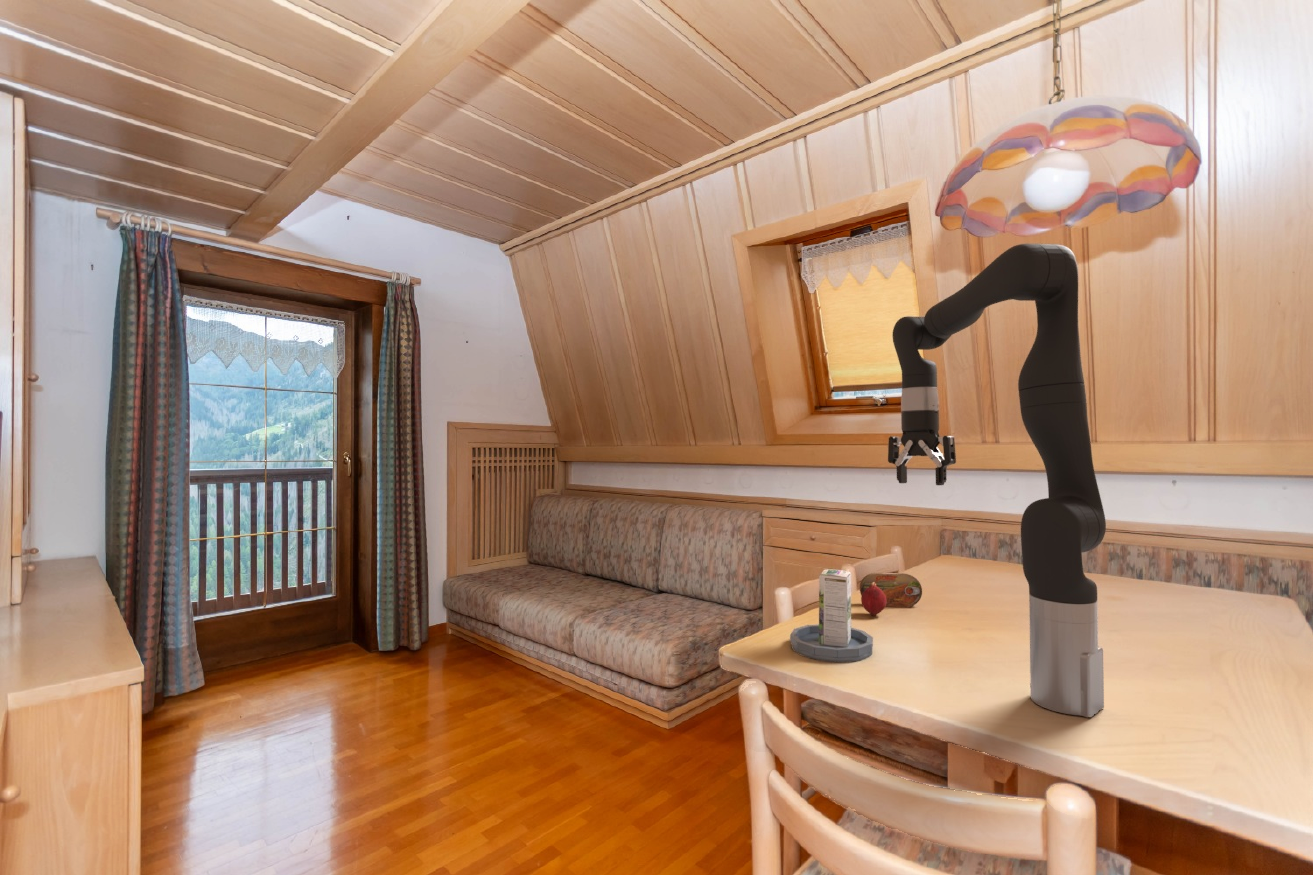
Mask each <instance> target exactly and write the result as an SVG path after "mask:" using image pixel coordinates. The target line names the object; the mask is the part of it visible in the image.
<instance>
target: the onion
mask: <svg viewBox="0 0 1313 875" xmlns="http://www.w3.org/2000/svg"><path fill="white" fill-rule="evenodd" d="M860 596H861V595H860ZM860 601H861V605H862V607H863V609H864V610H865V611H866V612H868V613H869V614H870V615H871V616H875V617H876V616H877V615H878V614H880V613H881V612H883V610H884V609H885V608H886V607H885V606H886V603H887V599H886V596H885V594H884V593H883V591H882V590H881V589H880V588H878V587H877V586H876V583H874V582H873V583H871V586H870V587H868V588H867V589H866V590H865V591H864V592H863V594H862V596H861V598H860Z"/></svg>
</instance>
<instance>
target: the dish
mask: <svg viewBox="0 0 1313 875" xmlns="http://www.w3.org/2000/svg"><path fill="white" fill-rule="evenodd" d="M789 638H790V639H789V640H790V642H789V643H790V644H791V648H792V650H793V651H794V652H795V653H796V654H798V653H799V654H798V655H800V656H802V657H806V658H808V659H811V660H816V661H822V662H827V663H828V662H829V663H851V662H852V663H853V662H859V661H863V660H866V659H868V658H870V657H871V656H872V655H873V647H874V637H873V636H872V635H871V634H869V633H867V632H866V631H864V630H861V629H858V628H855V627H851V640H850V642H849V644H848V647H838V646H829V645H821V644H819V623H817V624H806V625H803V626H800V627H796V628H793V630H792V631H791V633H790V635H789Z"/></svg>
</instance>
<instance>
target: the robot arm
mask: <svg viewBox="0 0 1313 875" xmlns="http://www.w3.org/2000/svg"><path fill="white" fill-rule="evenodd" d="M1010 300H1015V301H1021V302H1022V301H1023V302H1024V301H1025V302H1027V301H1029V302H1030V301H1031V302H1032V301H1034V303H1035V307H1036V308H1035V309H1036V318H1037V319H1036V320H1037V321H1036V322H1037V325H1036V326H1037V327H1036V328H1037V329H1036V330H1037V331H1036V334H1035V335H1036V336H1035V339H1034V342H1033V344H1032V346H1031V348H1030V351H1029V353H1028V354H1027V357H1026V359H1025V361H1024V362H1023V365H1022V367H1021V369H1020V373H1019V375H1018V376H1019V377H1018V380H1017V381H1018V383H1017V388H1018V396H1019V397H1018V398H1019V406H1020V409H1019V410H1020V415H1021V419H1022V422H1023V425H1024V427H1025V430H1026V433H1027V434H1028V436H1029V438H1030V439H1031V441H1032V444H1033V445H1034V446H1035V448H1036V450H1037V452H1038V454H1039V457H1041V459H1042V462H1043V466H1044V469H1045V472H1046V480H1047V488H1048V489H1047V490H1048V491H1047V492H1048V493H1047V494H1048V497H1046V498H1042V499H1038V500H1035V501H1033V502H1031V503H1029V505H1028V506H1027V507H1026V508H1025V510H1024V512H1023V514H1022V517H1021V523H1020V542H1021V543H1020V544H1021V560H1022V570H1023V574H1024V577H1025V579H1026V582H1027V584H1028V599H1029V600H1028V602H1029V604H1028V605H1029V606H1028V607H1029V610H1028V611H1029V613H1028V614H1029V616H1028V617H1029V673H1030V680H1029V681H1030V682H1029V685H1030V688H1029V689H1030V698H1031V701H1032V702H1034V703H1035V704H1037V705H1039V706H1040V707H1042V708H1045V709H1047V710H1050V711H1052V712H1057V713H1059V714H1060V713H1061V714H1066V715H1070V716H1081V717H1085V718H1088V717H1091V718H1092V717H1093V716H1095V715H1096V714H1097V713H1099V712H1100V711H1102V709H1104V708H1105V692H1104V691H1105V688H1104V686H1105V685H1104V684H1105V683H1104V682H1105V681H1104V678H1105V677H1104V676H1105V675H1104V648H1103V647H1102V646H1099V636H1098V635H1099V630H1098V629H1099V626H1098V625H1099V624H1098V623H1099V621H1098V619H1099V616H1098V615H1099V614H1098V610H1099V609H1098V587H1097V584H1096V582H1095V581H1094V580H1092V579H1091V578H1089V577H1087V576H1086V574H1085V573H1084V568H1083V567H1084V566H1083V565H1084V564H1083V554H1082V553H1085V552H1086V553H1087V552H1090V551H1092V550H1094V549H1097V547H1099V545H1100V544H1101V543H1102V542H1103V540H1104V538H1105V535H1106V530H1107V529H1106V528H1107V527H1106V526H1107V525H1106V524H1107V523H1106V515H1105V511H1104V507H1103V502H1102V499H1101V498H1102V497H1101V494H1100V489H1099V484H1098V481H1097V476H1096V473H1095V468H1094V462H1093V454H1092V445H1091V444H1092V443H1091V436H1090V427H1089V420H1088V405H1087V404H1088V403H1087V394H1086V393H1087V392H1086V386H1085V380H1084V373H1083V367H1082V357H1081V343H1080V332H1079V267H1078V263H1077V258H1076V256H1075V254H1074V252H1073V251H1072V250H1071V249H1070V248H1069V247H1068V246H1066V245H1062V244H1055V243H1021V244H1016V245H1013V246H1012V247H1009V248H1008V249H1006V250H1004V252H1002V253H1001V254H1000V255H999V256H997V257H996V258H995V259H994V260H993V261H991V263H990V264H988V265H987V266H986V267H985V268H984V269H983V270H981V271H980V272H979V273H978V274H977V275H976V276H975V277H974V278H973V279H972V280H970V281H969V282H968V283H967V284H966V285H964V286H963V287H962V288H961V289H960V290H958V291H956V292H955V293H953V294H951V295H949V296H948V297H946V298H943V300H940V301H939V302H938V303H935V304H934V305H933V306H931V307H930V308H929V309H928V310H927V311H926V313H925V314H924V316H912V315H911V316H908V315H907V316H903V317H900V318H899V319H898V320H897V321H896V322H895V324H894V326H893V328H892V329H893V330H892V334H891V335H892V343H893V346H894V349H895V352H896V356H897V359H898V363H899V365H900V370H901V397H900V402H901V403H900V412H901V413H900V415H901V417H900V418H901V426H900V427H901V431H902V435H901V437H900V436H897V435H896V436H891V435H890V436H889V437H888V444H887V445H888V449H887V450H888V452H887V462H888V464H893V465H895V466H896V480H897V481H898V483H899V484H907V483H908V467H907V464H908V462H909V461H910V460H911V459H912V458H913V457H918V456H919V457H920V456H921V457H928V458H929V459H930V460H932V462H933V463H934V465H935V466H936V467H935V486H944V485H945V483H947V467H949V466H951V465H955V464H956V463H957V457H956V456H957V454H956V444H955V436H954V435H943V436H940V434H939V431H940V399H939V391H938V368H937V364H936V363H935V362H934V361H933V360H930V359H927V358H924V357H922V355H921V354H920V352H919V351H920V350H923V351H926V350H935V349H937V348H940V347H942V346H943V345H944V344H945V343H946V342H947V341H948V340H949V339H950V338H951V337H952V336H953V335H955V334H956V333H959V332H961V331H963V330H966V328H969V327H970V326H972V325H973V324H975V323H976V322H977V321H978V320H979V319H980V318H981V316H982V314H983V313H984V311H985V309H986V308H987V307H990V306H992V305H995V304H998V303H1002V302H1005V301H1010ZM940 444H941V446H942V447H943V453H942V452H941V451H940V449H939V448H938V446H939V445H940ZM901 445H902V446H903V449H902V450H901V452H900V446H901ZM1099 710H1100V711H1099ZM1098 711H1099V712H1098ZM1094 714H1095V715H1094Z"/></svg>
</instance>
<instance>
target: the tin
mask: <svg viewBox="0 0 1313 875" xmlns="http://www.w3.org/2000/svg"><path fill="white" fill-rule="evenodd" d="M873 582H874V583H876V586H877V587H878V588H880V589H881V590H882V591H883V593H884V594H885V596H886V599H887V603H886V606H885V608H910V607H913V606H915V605H917V604H918V603H919V601H920V600H921V598H922V595H923V587H922V584H921V582H920V581H919V580H918V579H917V578H916V577H915V576H913V575H911V574H908V573H905V572H903V573H902V572H901V573H900V572H899V573H898V572H897V573H895V572H894V573H892V572H888V573H887V572H871V573H869V574H866V575H865V576H864V577H863V578H862V579H861V581H860V583H859V593H860V596H862V594H863V592H864V591H865V590H866V589H867V588H868V587H870V586H871V583H873Z"/></svg>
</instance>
